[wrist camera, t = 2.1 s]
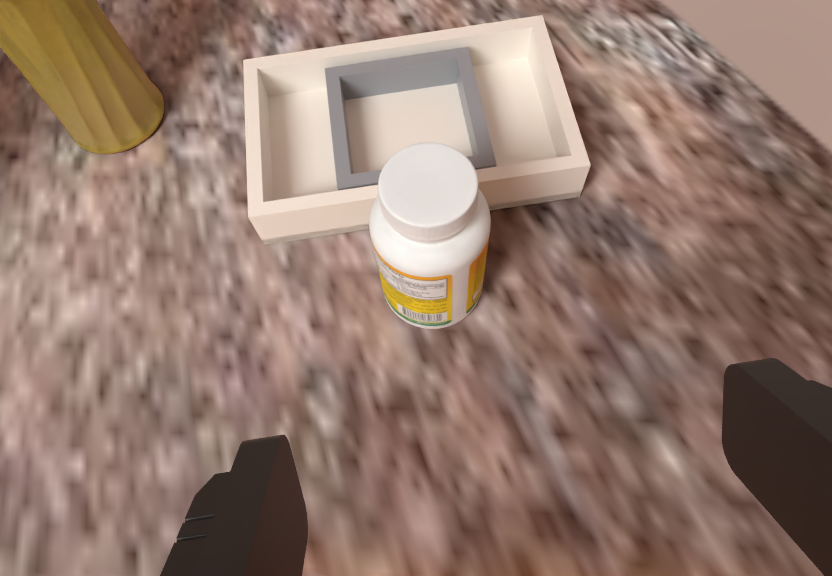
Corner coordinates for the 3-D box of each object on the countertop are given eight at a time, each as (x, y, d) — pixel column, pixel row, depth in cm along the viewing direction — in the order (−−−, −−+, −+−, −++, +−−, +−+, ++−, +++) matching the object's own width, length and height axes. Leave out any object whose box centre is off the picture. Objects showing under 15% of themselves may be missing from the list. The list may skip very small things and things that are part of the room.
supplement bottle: (413, 349, 31) (398, 266, 22) (366, 268, 33) (335, 163, 24) (502, 300, 32) (521, 202, 23) (451, 224, 34) (451, 108, 25)
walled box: (264, 244, 34) (248, 217, 31) (258, 95, 39) (243, 59, 36) (579, 196, 34) (590, 165, 31) (535, 53, 39) (542, 15, 36)
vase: (50, 138, 38) (-157, -80, 25) (107, 69, 40) (-56, -165, 27) (129, 168, 37) (-46, -47, 24) (184, 95, 39) (50, -139, 26)
